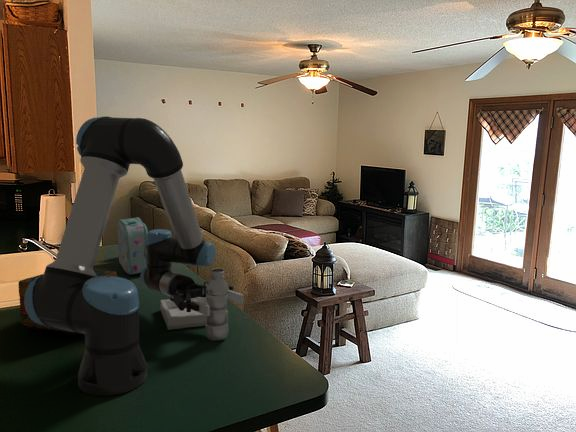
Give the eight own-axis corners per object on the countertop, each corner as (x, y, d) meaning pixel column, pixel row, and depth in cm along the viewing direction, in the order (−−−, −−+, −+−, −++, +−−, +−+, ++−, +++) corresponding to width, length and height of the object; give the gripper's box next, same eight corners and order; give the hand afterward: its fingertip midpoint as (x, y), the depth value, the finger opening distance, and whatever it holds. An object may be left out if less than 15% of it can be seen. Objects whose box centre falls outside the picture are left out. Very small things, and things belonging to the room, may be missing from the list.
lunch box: (154, 276, 187) (154, 223, 183) (127, 279, 182) (126, 225, 178) (140, 259, 210) (139, 212, 206) (116, 261, 205) (115, 213, 201)
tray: (227, 322, 144) (228, 311, 144) (168, 329, 137) (168, 318, 137) (215, 304, 159) (215, 294, 158) (160, 310, 152) (160, 300, 151)
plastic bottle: (233, 338, 133) (234, 270, 130) (214, 345, 128) (215, 275, 125) (218, 331, 137) (220, 265, 134) (200, 338, 132) (200, 270, 129)
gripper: (208, 289, 152) (256, 307, 138) (143, 308, 134) (190, 330, 120) (208, 267, 151) (257, 282, 137) (142, 282, 133) (191, 302, 119)
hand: (226, 305), depth 128 cm, fingers open, 12 cm apart
